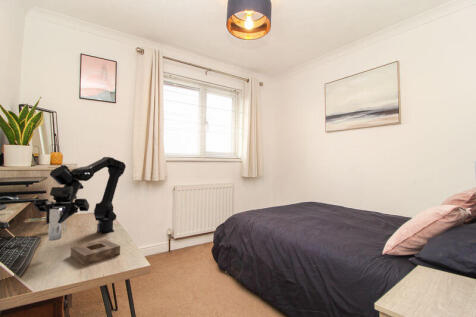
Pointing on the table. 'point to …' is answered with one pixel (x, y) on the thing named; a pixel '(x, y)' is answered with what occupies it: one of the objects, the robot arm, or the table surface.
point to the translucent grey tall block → (55, 224)
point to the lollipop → (62, 212)
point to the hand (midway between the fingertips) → (53, 223)
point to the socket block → (95, 251)
